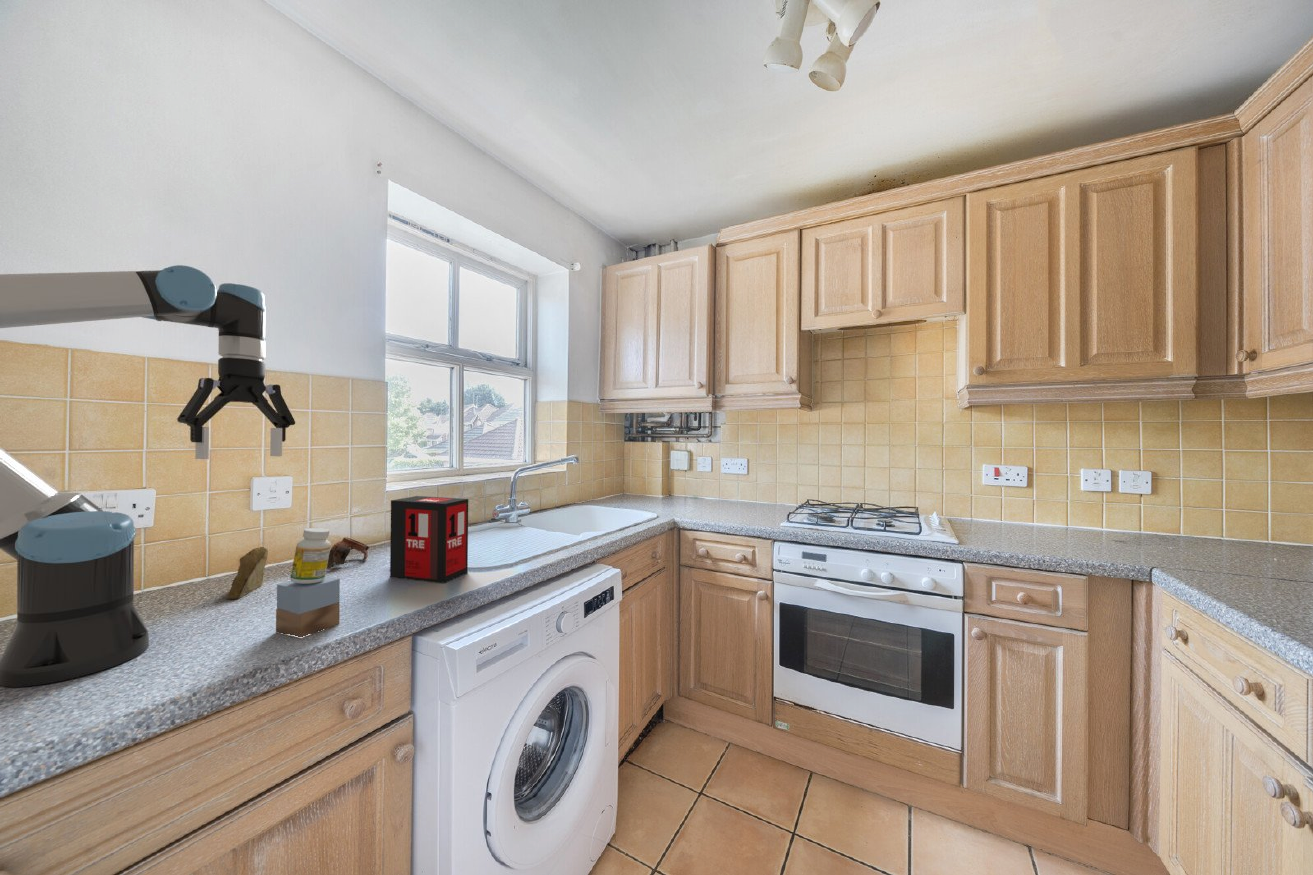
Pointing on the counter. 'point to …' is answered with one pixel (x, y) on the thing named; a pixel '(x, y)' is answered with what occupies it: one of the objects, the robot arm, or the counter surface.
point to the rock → (249, 573)
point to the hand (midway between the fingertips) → (241, 457)
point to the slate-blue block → (307, 595)
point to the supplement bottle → (311, 557)
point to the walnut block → (307, 620)
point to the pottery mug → (345, 551)
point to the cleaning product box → (429, 538)
